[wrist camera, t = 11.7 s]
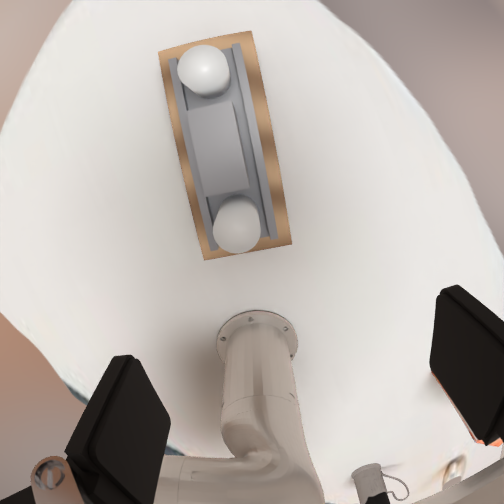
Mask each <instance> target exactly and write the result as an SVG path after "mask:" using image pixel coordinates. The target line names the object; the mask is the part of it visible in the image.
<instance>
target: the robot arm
mask: <svg viewBox="0 0 504 504" xmlns="http://www.w3.org/2000/svg"><path fill="white" fill-rule="evenodd" d="M297 348H298V340H297V335H296V333H295V330H294V328H293V327H292V325H291V324H290V323H289V322H288V321H287V320H286V319H284V318H282V317H281V316H279V315H276V314H274V313H271V312H265V311H252V312H246V313H243V314H239V315H237V316H235V317H233V318H232V319H230V320H229V321H228V322H227V323H226V324H225V325H224V326H223V327H222V329H221V330H220V332H219V335H218V338H217V352H218V355H219V357H220V359H221V360H222V362H223V363H224V364H225V374H224V387H223V400H222V414H221V433H222V437H223V439H224V442H225V444H226V446H227V447H228V449H229V450H230V451H231V453H232V454H233V455H234V456H235V457H236V458H205V457H190V456H172V455H170V456H164V452H165V447H166V443H167V439H168V434H169V430H170V425H171V421H170V417H169V414H168V413H167V411H166V409H165V407H164V406H163V404H162V402H161V400H160V399H159V397H158V395H157V393H156V391H155V389H154V388H153V386H152V384H151V382H150V380H149V378H148V376H147V374H146V372H145V370H144V368H143V366H142V364H141V362H140V361H139V360H138V359H135V358H134V357H133V356H132V355H121V356H114V357H113V358H112V360H111V362H110V364H109V365H108V367H107V369H106V371H105V373H104V375H103V376H102V378H101V380H100V382H99V384H98V386H97V388H96V389H95V391H94V393H93V395H92V397H91V399H90V401H89V403H88V405H87V407H86V409H85V410H84V412H83V414H82V416H81V418H80V420H79V422H78V424H77V426H76V429H75V430H74V432H73V434H72V436H71V439H70V441H69V443H68V445H67V447H66V449H65V451H64V452H65V453H66V454H67V455H68V456H67V459H66V460H65V459H63V458H62V457H59V456H50V457H46V458H45V459H43V460H41V461H39V462H38V464H37V465H35V467H34V469H33V470H32V473H31V486H29V487H27V488H25V489H23V490H21V491H19V492H17V493H15V494H13V495H11V496H9V497H7V498H5V499H3V500H1V501H0V504H325V499H324V493H323V489H322V486H321V483H320V480H319V477H318V475H317V473H316V470H315V468H314V465H313V463H312V460H311V457H310V454H309V451H308V448H307V444H306V440H305V436H304V431H303V425H302V420H301V414H300V408H299V402H298V396H297V391H296V385H295V380H294V374H293V368H292V363H291V361H292V360H293V358H294V356H295V354H296V352H297ZM429 363H430V368H431V371H432V372H433V374H434V375H435V377H436V378H437V379H438V381H439V382H440V384H441V385H442V387H443V388H444V389H445V391H446V392H447V394H448V395H449V397H450V398H451V400H452V401H453V403H454V404H455V406H456V407H457V409H458V410H459V412H460V413H461V415H462V416H463V418H464V420H465V421H466V423H467V424H468V426H469V427H470V429H471V430H472V432H473V434H474V435H475V437H476V438H477V439H478V440H482V441H483V442H484V444H485V446H487V445H489V444H491V443H492V442H494V441H496V440H497V439H499V438H501V440H502V441H503V446H502V451H501V456H500V460H498V461H497V462H495V463H493V464H492V465H490V466H488V467H487V468H485V469H483V470H481V471H480V472H478V473H476V474H474V475H473V476H471V477H469V478H467V479H465V480H463V481H461V482H459V483H457V484H455V485H453V486H451V487H449V488H447V489H445V490H443V491H441V492H438V493H436V494H434V495H432V496H429V497H427V498H425V499H422V500H420V501H417V502H415V503H412V504H504V321H502V320H501V319H500V318H499V317H498V316H497V315H495V314H494V313H493V312H492V311H491V310H489V309H488V308H487V307H486V306H485V305H483V304H482V303H481V302H480V301H478V300H477V299H476V298H475V297H473V296H472V295H471V294H470V293H468V292H467V291H466V290H465V289H463V288H462V287H461V286H459V285H454V286H451V287H448V288H444V289H442V290H441V292H440V295H438V296H437V298H436V309H435V320H434V330H433V339H432V346H431V354H430V361H429Z"/></svg>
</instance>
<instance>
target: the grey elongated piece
mask: <svg viewBox="0 0 504 504" xmlns="http://www.w3.org/2000/svg"><path fill="white" fill-rule="evenodd" d="M168 62H169V67H170V72H171V78H172V83H173V88H174V93H175V98H176V103H177V108H178V113H179V117H180V122H181V127H182V132H183V136H184V141H185V145H186V150H187V154H188V159H189V163H190V168H191V172H192V177H193V181H194V185H195V190H196V194H197V198H198V202H199V206H200V211H201V215H202V219H203V223H204V227H205V231H206V235H207V239H208V243H209V247H210V251H215V250H218V249H219V246H220V247H221V248H222V249H223V250H225V251H227V252H230V253H235V254H236V253H244V252H247V251H249V250H250V249H252V248H253V247H254V246H255V245H256V244H257V242H258V240H259V238H263V237H269V236H270V239H271V240H273V239H278V233H277V227H276V222H275V216H274V211H273V205H272V200H271V194H270V189H269V183H268V178H267V173H266V167H265V162H264V157H263V152H262V147H261V141H260V136H259V131H258V126H257V121H256V116H255V111H254V106H253V102H252V97H251V92H250V87H249V82H248V78H247V73H246V68H245V64H244V59H243V55H242V50H241V46H240V43H235V44H232V48H227V49H222V50H219V49H218V48H216V47H214V46H210V45H198V46H195V47H192V48H190V49H189V50H187V51H186V52H185V53H184V54H183V55H182V57H181V58H180V60H178V59H177V58H176V57H175V58H171V59H168Z"/></svg>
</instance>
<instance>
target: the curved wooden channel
mask: <svg viewBox="0 0 504 504" xmlns="http://www.w3.org/2000/svg"><path fill="white" fill-rule="evenodd" d="M235 43H240V46H241V50H242V55H243V59H244V64H245V68H246V73H247V78H248V82H249V87H250V92H251V97H252V102H253V106H254V111H255V116H256V121H257V126H258V131H259V136H260V141H261V147H262V152H263V157H264V162H265V167H266V173H267V178H268V183H269V189H270V194H271V200H272V205H273V211H274V216H275V222H276V227H277V233H278V239H273V240H271V239H270V236H269V237H263V238H259V240H258V242H257V244H256V245H255V246H254V247H253V248H252V249H250V250H249V251H247V252H253V251H258V250H264V249H269V248H275V247H280V246H285V245H291V244H292V241H291V234H290V228H289V222H288V216H287V209H286V203H285V197H284V192H283V186H282V180H281V174H280V169H279V163H278V158H277V152H276V147H275V141H274V136H273V131H272V126H271V121H270V115H269V110H268V105H267V100H266V96H265V91H264V86H263V81H262V76H261V72H260V67H259V62H258V58H257V53H256V49H255V44H254V40H253V36H252V31H245V32H239V33H234V34H228V35H223V36H218V37H214V38H209V39H205V40H200V41H196V42H192V43H188V44H184V45H180V46H177V47H173V48H170V49H166V50H163V51H159V52H158V55H159V61H160V66H161V72H162V77H163V83H164V88H165V93H166V98H167V103H168V108H169V113H170V118H171V123H172V128H173V132H174V137H175V142H176V146H177V151H178V155H179V160H180V164H181V169H182V173H183V177H184V182H185V186H186V190H187V194H188V199H189V203H190V207H191V211H192V215H193V219H194V223H195V227H196V231H197V235H198V239H199V243H200V246H201V250H202V254H203V258H204V260H209V259H215V258H220V257H226V256H231V255H236V254H242V253H236V254H235V253H230V252H227V251H225V250H223V249H222V248H221V247H220V246H219V249H218V250H215V251H210V247H209V243H208V239H207V235H206V231H205V227H204V223H203V219H202V215H201V211H200V206H199V202H198V198H197V194H196V190H195V185H194V181H193V177H192V172H191V168H190V163H189V159H188V154H187V150H186V145H185V141H184V136H183V132H182V127H181V122H180V117H179V113H178V108H177V103H176V98H175V93H174V88H173V83H172V78H171V72H170V67H169V62H168V59H171V58H175V57H176V58H177V59H178V60H180V58H181V57H182V55H183V54H184V53H185V52H186V51H187V50H189V49H190V48H192V47H195V46H198V45H210V46H214V47H216V48H218V49H219V50H222V49H227V48H232V44H235ZM247 252H244V253H247Z"/></svg>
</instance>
